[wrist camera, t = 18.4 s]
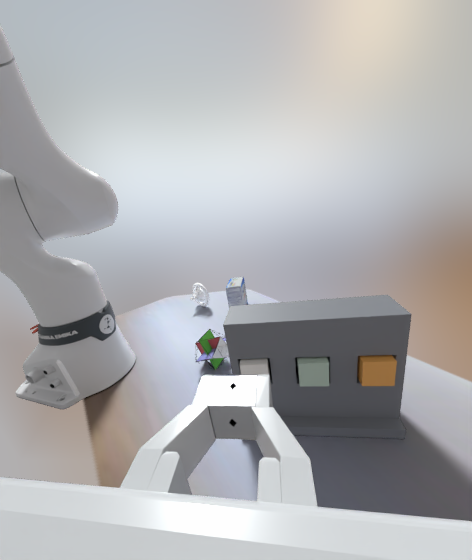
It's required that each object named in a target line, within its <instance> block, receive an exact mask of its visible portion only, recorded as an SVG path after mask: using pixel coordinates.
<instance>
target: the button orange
mask: <svg viewBox="0 0 472 560" xmlns="http://www.w3.org/2000/svg"><path fill="white" fill-rule="evenodd" d="M396 365H397V361H396V360H395V358H394V357H393V356H392V355H369V356H358V364H357V377H358V379H359V381H360V383H361V385H362V386H394V385H395V375H396Z"/></svg>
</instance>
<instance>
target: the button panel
mask: <svg viewBox="0 0 472 560" xmlns="http://www.w3.org/2000/svg"><path fill="white" fill-rule="evenodd" d="M410 322H411V313H409V312H408V311H407V310H406V309H404V308H403V307H402V306H401V305H400V304H398V303H397V302H396V301H395V300H393V299H392V298H391V297H390V296H388V295H379V296H363V297H349V298H336V299H322V300H308V301H295V302H280V303H266V304H252V305H239V306H230V308H229V311H228V314H227V316H226V319H225V322H224V324H223V326H224V331H225V336H226V342H227V347H228V352H229V357H230V363H231V368H232V373H233V375H241V370H240V360H241V359H260V358H269V364H270V382H271V392H272V405H273V408H274V409H275V410H276V412H277V413H278V415H279V416H280V417H281V419H282V420H283V422H284V423H285V425H286V426H287V427H288V429H289V430H290V432H291V433H292V434H293V435H304V436H333V437H363V438H392V439H405V435H406V429H405V427H404V425H403V424H402V422H401V420H400V419H399V416H400V408H401V399H402V391H403V382H404V373H405V365H406V356H407V347H408V339H409V330H410ZM369 355H392V356H393V357H394V358H395V360H396V361H397V365H396V375H395V385H394V386H362V385H361V383H360V381H359V379H358V377H357V364H358V356H369ZM296 357H327V359H328V362H329V386H300V384H299V378H298V371H297V361H296Z"/></svg>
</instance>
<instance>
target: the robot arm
mask: <svg viewBox="0 0 472 560" xmlns="http://www.w3.org/2000/svg"><path fill="white" fill-rule="evenodd" d="M0 169H3V170H5V171H6V172H8V173H0V271H1V272H2V273H4V274H5V275H6V276H7V277H8V278H10V279H11V280H12V281H13V282H14V283H15V284H16V285H17V287H18V288H19V289H20V290H21V292H22V293H23V295H24V297H25V298H26V300H27V301H28V303H29V305H30V307H31V308H32V310H33V312H34V313H35V316H36V318H37V320H38V322H39V324H38V325H36V326H34V327H32V328H31V329H34V328H36V327H38V328H37V329H36V330H34V331H33V332H32V333H35V332H37V331H38V336H39V344H38V345H37V347H36V348H35V349H34V350H33V352H32V353H31V354H30V355H29V357H28V358H27V359H26V360H25V362H24V364H23V370H24V373H25V375H26V379H27V380H26V381H25V382H24V383H23V384H22V385H21V386H20V387H19V388H18V390H17V391H16V395H17V397H19V398H22V399H26V400H30V401H33V402H37V403H40V404H44V405H47V406H51V407H54V408H58V409H66V408H68V407H70V406H72V405H74V404H75V403H77V402H79V401H80V400H82V399H83V398H86V397H88V396H90V395H92V394H95V393H97V392H100V391H102V390H104V389H106V388H107V387H109V386H111V385H112V384H114V383H115V382H117V381H118V380H120V379H121V378H122V377H123V376H124V375H125V374H126V373H127V372H128V371H129V370H130V369H131V368H132V366H133V365H134V363H135V360H136V356H135V353H134V352H133V351H132V350H131V348H130V345H129V343H128V342H127V341H126V340H125V338H124V336H123V335H122V333H121V331H120V329H119V327H118V325H117V323H116V321H115V315H114V312H113V310H112V306H111V305H110V303H109V301H107V300H106V298H105V296H104V292H103V290H102V287H101V284H100V282H99V279H98V276H97V273H96V271H95V270H94V269H93V268H92V267H91V266H90V265H89V264H87V263H85V262H82V261H79V260H75V259H70V258H63V257H57V256H54V255H52V254H50V253H49V252H47V251H46V250H45V248H44V247H43V245H42V243H43V242H46V241H50V240H55V239H61V238H67V237H73V236H79V235H85V234H90V233H92V232H95V231H98V230H101V229H103V228H106V227H109V226H111V225H113V223H114V221H115V220H116V217H117V213H118V202H117V198H116V195H115V193H114V191H113V189H112V188H111V187H110V185H109V184H108V183H107V182H106V181H105V180H104V179H103V178H102V177H100V176H99V175H98V174H96V173H94V172H92V171H90V170H88V169H86V168H84V167H82V166H81V165H79V164H78V163H76V162H75V161H74V160H72V159H71V158H70V157H69V156H68V155H67V154H65V153H64V152H63V151H62V150H61V149H60V148H59V146H58V145H57V144H56V143H55V142H54V140H53V139H52V138H51V136H50V135H49V133H48V132H47V130H46V129H45V127H44V125H43V123H42V121H41V119H40V117H39V115H38V113H37V111H36V109H35V106H34V104H33V102H32V100H31V98H30V96H29V93H28V91H27V88H26V86H25V84H24V81H23V79H22V76H21V74H20V71H19V69H18V66H17V63H16V61H15V58H14V56H13V53H12V51H11V49H10V46H9V44H8V41H7V39H6V36H5V34H4V32H3V29H2V27H1V25H0ZM31 329H30V330H31ZM216 439H244V440H256V441H257V444H258V446H259V448H260V450H261V452H262V454H263V456H264V457H263V458H262V459H261V460H260V461H259V473H258V493H257V501H252V500H241V499H231V498H220V497H209V496H199V495H192V493H191V489H190V486H189V483H188V480H187V479H188V477H189V476H190V474H191V473H192V472H193V470H194V469H195V468H196V466H197V465H198V464H199V462H200V461H201V459H202V458H203V457H204V455H205V454H206V453H207V451H208V450H209V448H210V447H211V446H212V444H213V443H214V442H215V440H216ZM0 560H472V521H464V520H453V519H442V518H432V517H421V516H411V515H400V514H389V513H379V512H368V511H358V510H347V509H336V508H326V507H317V500H316V494H315V488H314V481H313V475H312V468H311V462H310V458H309V457H308V456H307V454H306V453H305V451H304V450H303V448H302V447H301V446H300V444H299V443H298V441H297V440H296V439H295V437H294V436H293V434H292V433H291V432H290V430H289V429H288V427H287V426H286V425H285V423H284V422H283V420H282V419H281V417H280V416H279V415H278V413H277V412H276V410H275V409H274V408H273V405H272V392H271V382H270V375H269V374H261V375H203V376H202V378H201V381H200V384H199V386H198V389H197V392H196V394H195V397H194V400H193V403H192V405H188V406H187V407H186V408H185V409H184V410H182V411H181V412H180V413H179V414H178V415H177V416H176V417H175V418H173V419H172V420H171V421H170V422H169V423H168V424H167V425H166V426H164V427H163V428H162V429H161V430H160V431H159V432H158V433H157V434H156V435H154V436H153V437H152V438H151V439H150V440H149V441H148V442H147V443H145V444H144V445H143V446H142V447H141V448H140V449H139V451H138V453H137V455H136V457H135V459H134V461H133V463H132V465H131V467H130V469H129V471H128V473H127V475H126V477H125V479H124V480H123V482H122V484H121V486H120V488H113V487H103V486H92V485H82V484H71V483H60V482H50V481H39V480H29V479H18V478H7V477H0Z"/></svg>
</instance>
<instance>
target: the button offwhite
mask: <svg viewBox="0 0 472 560" xmlns="http://www.w3.org/2000/svg"><path fill="white" fill-rule="evenodd" d="M240 370H241V375H261V374H269V375H270V364H269V358H260V359H241V360H240Z"/></svg>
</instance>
